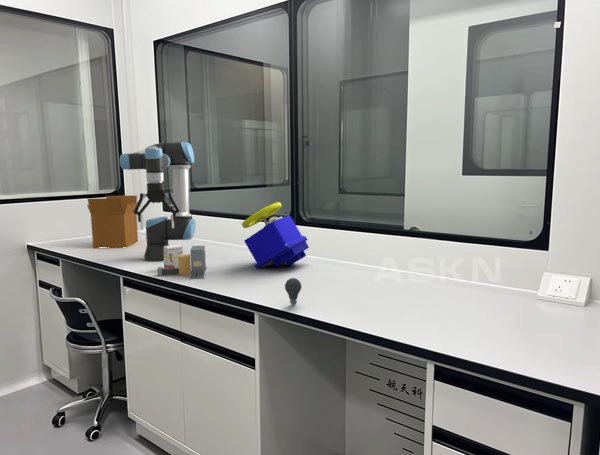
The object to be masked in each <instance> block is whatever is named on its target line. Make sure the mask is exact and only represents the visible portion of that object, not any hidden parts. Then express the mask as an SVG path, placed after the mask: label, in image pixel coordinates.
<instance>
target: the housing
mask: <svg viewBox="0 0 600 455" xmlns="http://www.w3.org/2000/svg"><path fill="white" fill-rule="evenodd" d="M189 252H190V253H189V254H190V265H191V274H190V275H189V276H190V277H189V278H190V280H194V279H195V280H199V279H202V280H203V279H205V276H206V273H205V272H206V271H207V264H206V245H192V246H191V248H190V251H189Z"/></svg>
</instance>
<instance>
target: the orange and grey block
mask: <svg viewBox="0 0 600 455" xmlns="http://www.w3.org/2000/svg"><path fill="white" fill-rule="evenodd" d="M178 261H179V268H164V266H158V267H157V268H156V272H157V277H162V276H191V253H189V254H183V255H179V256H178Z"/></svg>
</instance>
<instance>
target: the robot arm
mask: <svg viewBox="0 0 600 455" xmlns="http://www.w3.org/2000/svg"><path fill="white" fill-rule="evenodd" d="M194 163H195V152H194V149H193V146H192V145H191V143H190V142H184V141H183V142H182V141H179V142H178V141H177V142H173V141H172V142H159V143H155V144H152V145H149V146H147V147H145V148H144V149H143V150H138V151H136V152H133V153H132V152H130V153H122V154H120V156H119V165H120V167H121V169H122V170H128V171H129V170H145V173H146V174H145V176H146V177H145V178H146V182H147V183H146V193H143V192H142V193H140V194H139V200H137V202H138V203H137V206H136V208H135V210H134V212H133V213H134V214H136V215H137V222H138V223H140V230H144V229H145V235H146V236H145V237H146V238H145V239H146V247H145V251H144V254H143V255H144V256H143V257H144V258H143V259H144V261H146V262H147V261H148V262H164V249H163V247H164V246H170V245H169V241H185V240H187V241H189V240H192V239H193V238H194V236H195V231H196V227H197V226H196V225H197V224H196V219H195V218H193V215H192V214H191V213H190V193H189V192H190V181H189V180H190V179H189V177H190V176H189V175H190V174H189V170H190V169H191V168H192V164H194ZM167 168H170V169H171V171H172V192H167V193H166V192H165V183H164V182H165V180H164V178H165V177H164V170H165V169H167ZM165 197H167V198H168V199H169V200H170V203H171V204H172V206H171V205H170V203H169V202H167V201H166V198H165ZM145 198H147V199H148V200H147V201H146V202H145V203H144V205H143V206H142V207H141V205H142V203H143V201H144V199H145ZM151 203H152V204H155V203H157V204H159V203H162V204H163V205H164V206H165V207H166V208H167V209H168V210H169V211H170V212H171V214H170V218H168V216H161V217H160V216H159V217H153V218H152V217H151V218H149V219H147V220H146V221H145V227H144V215H143V212H144V211H145V210H146V208H148V206H149V205H150V204H151ZM140 207H141V208H140ZM139 208H140V209H139Z"/></svg>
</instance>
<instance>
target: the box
mask: <svg viewBox="0 0 600 455" xmlns="http://www.w3.org/2000/svg"><path fill="white" fill-rule="evenodd" d="M137 199H138V195H106V196H105V197H104V198H98V197H97V198H87V203H88V204H86V206H87V208H88V211H89V213H90V222H91V236H92V248H93V249H100V248H99V247H107V248H106V249H124V248H123V247H127V248H129V247H131V246H133V245H132V244H134V243H136V242H138V243H139V237H138V236H139V234H138V233H139V232H138V215H137V214H134V213H133V212H134V210H135V208H136V206H137V203H138V200H137ZM136 244H137V243H136ZM130 245H131V246H130ZM134 245H135V244H134ZM128 246H129V247H128ZM108 247H109V248H108Z"/></svg>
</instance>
